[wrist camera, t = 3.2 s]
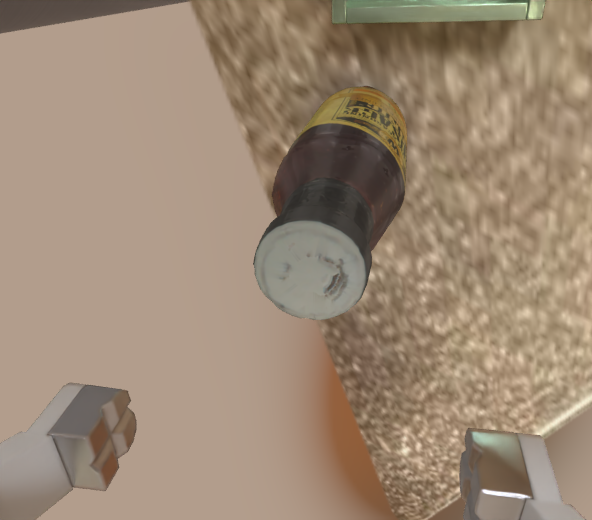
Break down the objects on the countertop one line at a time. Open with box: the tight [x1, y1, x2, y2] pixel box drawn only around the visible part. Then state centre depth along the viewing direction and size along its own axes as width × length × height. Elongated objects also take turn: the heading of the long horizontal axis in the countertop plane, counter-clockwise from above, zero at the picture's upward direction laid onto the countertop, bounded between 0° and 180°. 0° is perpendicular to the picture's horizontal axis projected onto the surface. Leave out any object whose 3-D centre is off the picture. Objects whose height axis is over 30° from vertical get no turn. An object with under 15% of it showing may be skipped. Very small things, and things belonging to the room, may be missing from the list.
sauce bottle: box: [253, 86, 407, 320], centre depth 26 cm, size 7×6×20 cm
